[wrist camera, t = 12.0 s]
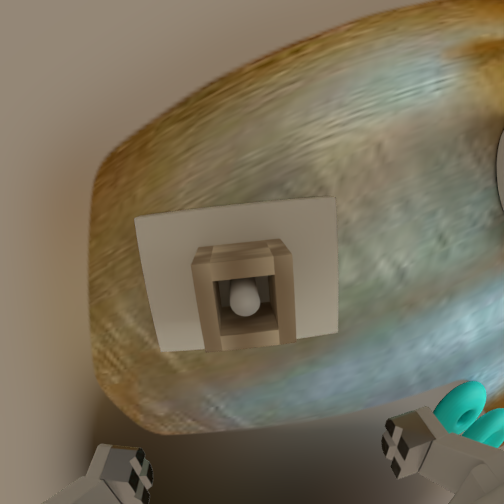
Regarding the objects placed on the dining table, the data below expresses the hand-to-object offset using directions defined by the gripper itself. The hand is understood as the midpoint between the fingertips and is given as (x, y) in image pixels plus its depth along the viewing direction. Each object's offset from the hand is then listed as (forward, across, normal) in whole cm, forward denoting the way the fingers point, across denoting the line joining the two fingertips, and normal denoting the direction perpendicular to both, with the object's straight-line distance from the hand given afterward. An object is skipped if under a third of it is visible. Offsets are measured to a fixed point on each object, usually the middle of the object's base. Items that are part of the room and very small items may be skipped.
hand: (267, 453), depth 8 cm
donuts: (+19, -28, +24) cm, 41 cm away
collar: (+17, 0, 0) cm, 17 cm away
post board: (+19, 0, 0) cm, 19 cm away
